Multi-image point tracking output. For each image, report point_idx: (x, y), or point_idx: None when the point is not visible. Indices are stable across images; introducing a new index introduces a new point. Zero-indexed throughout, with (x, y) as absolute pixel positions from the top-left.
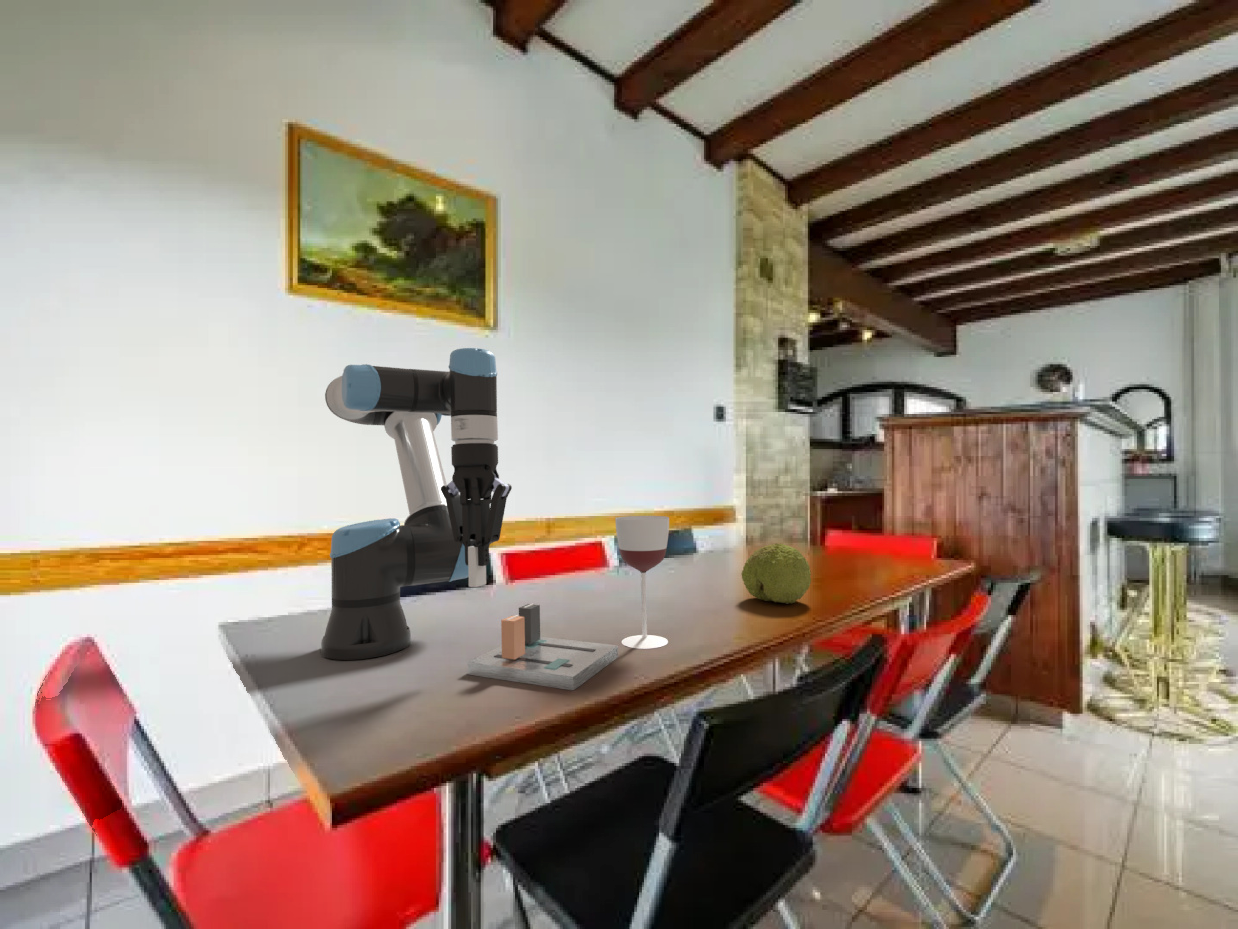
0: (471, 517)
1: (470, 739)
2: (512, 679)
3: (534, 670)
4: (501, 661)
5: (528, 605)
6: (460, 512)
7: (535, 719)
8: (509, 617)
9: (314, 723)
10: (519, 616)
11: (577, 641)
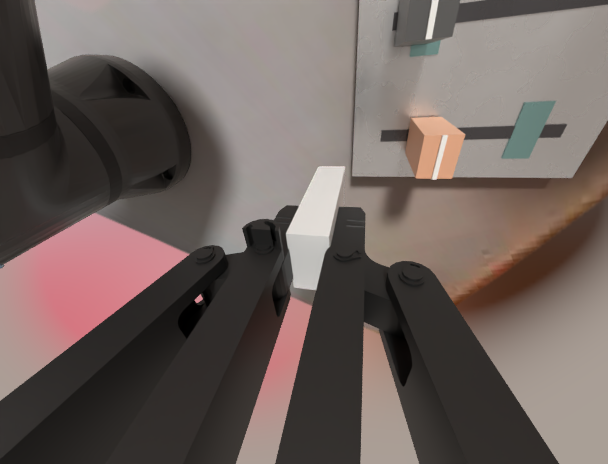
0: (236, 420)
1: (452, 290)
2: None
3: (485, 173)
4: (406, 157)
5: (434, 6)
6: (90, 423)
7: (510, 252)
8: (425, 153)
9: (305, 290)
10: (449, 136)
11: None
